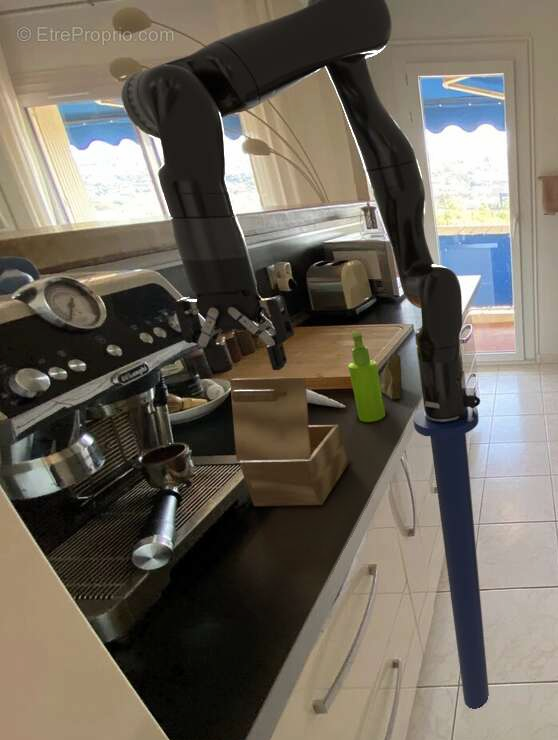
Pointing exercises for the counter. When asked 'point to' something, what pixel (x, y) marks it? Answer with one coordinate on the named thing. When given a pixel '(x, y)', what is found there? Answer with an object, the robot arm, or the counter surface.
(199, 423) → the counter surface
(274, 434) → the lid
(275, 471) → the caddy
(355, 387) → the soap dispenser
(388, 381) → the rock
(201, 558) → the counter surface
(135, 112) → the robot arm
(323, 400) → the unicorn horn
